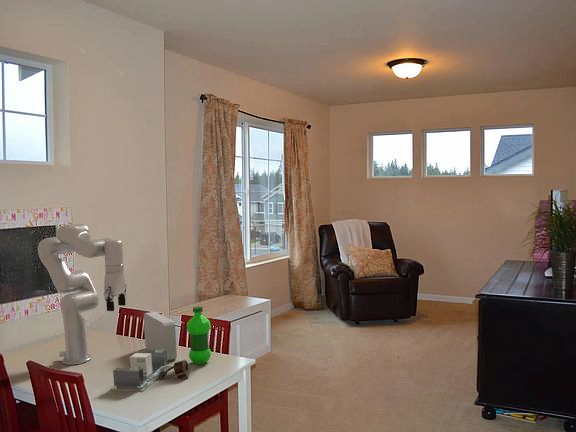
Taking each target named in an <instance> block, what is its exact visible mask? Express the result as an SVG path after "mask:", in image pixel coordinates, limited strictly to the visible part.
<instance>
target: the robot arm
mask: <svg viewBox="0 0 576 432" xmlns="http://www.w3.org/2000/svg"><path fill="white" fill-rule="evenodd" d="M55 235H56V236H53V237H52V236H51V237H47V238H44V239H42V240H40V242H39V243H38V245H37V253H38V257H39V259H40V262H41V263H42V264H43V266H44V267H45V269H46V270H47V271H48V273H49V276H50V279H51V281H52V283H53V285H54V287H55V290H56V291H57V292H58V293H59V294H62V295H64V296H63V297H62V298H61V299H60V302H59V307H60V310H61V313H62V319H63V330H64V331H63V332H64V345H65V350H63V351H61V350H60V351H59V354H58V357H63V359H62V363H63V364H64V365H69V366H71V365H72V366H73V365H81V364H85V363H88V362H89V361H91V360H92V358H93V357H92V355H91V354H89V351H88V350H89V349H88V334H87V322H86V319H85V318H84V317H83V315H82V313H84V312H88V311H92V310H95V309H96V308H97V307H99V304H100V299H99V295H98V292H97V290H96V288H95V286H94V284H93V281H92V279H91V278H90V276H89V274H88V273H87V272H85V271H83V270H76V271H71V270H70V269H69V266H68V264H67V263H66V262H65V261H64V260H63V259H62V258H61V257H59V256H60V255H65V254H72V253H74V252H75V253H76V255H78V256H81V257H84V258H88V259H94V258H98V257H99V258H100V257H104V268H105V269H104V270H105V271H104V272H105V274H104V282H103V283H104V284H103V289H104V292H103V296H104V300H105V302H106V311H107V312H114V311H115V301H114V299H115V297H117V302H118V304H117V305H118V306H122V307H123V306H126V305H127V304H126V296H127V293H126V292H127V284H126V281H125V274H124V272H125V271H124V270H125V269H124V266H125V265H124V253H123V252H124V249H123V248H124V246H123V242H122V240H120V239H112V238H97V239H91V235H90V230H89V227H88V226H87V225H85V224H83V223H73V224H63V225H61V226H59V227H58V228H57V230H56V233H55ZM58 255H59V256H58Z"/></svg>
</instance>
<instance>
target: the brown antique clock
mask: <svg viewBox="0 0 576 432" xmlns="http://www.w3.org/2000/svg"><path fill="white" fill-rule="evenodd" d="M171 370H173V371H174V374H172V375H167V374H168V373H169V372H170V371H171ZM190 372H191V368H190V367H189V363H188V361H187V360H186V359H183V360H180V361H177V362H174V363H173V365H171V367H170V368H169V369H168V370H166V372H165V371H161V372H160V374H159V378H158V379H160V380H164V379H165V378H166V379H173V378H177V379H180V378H183V377H186V379H189V378H190Z"/></svg>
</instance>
